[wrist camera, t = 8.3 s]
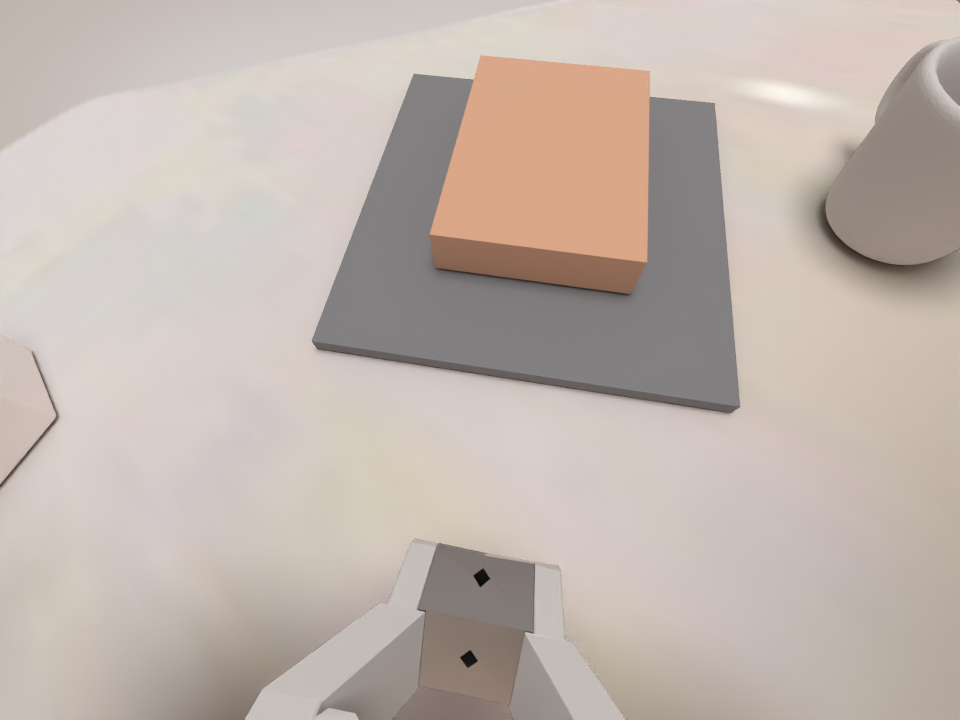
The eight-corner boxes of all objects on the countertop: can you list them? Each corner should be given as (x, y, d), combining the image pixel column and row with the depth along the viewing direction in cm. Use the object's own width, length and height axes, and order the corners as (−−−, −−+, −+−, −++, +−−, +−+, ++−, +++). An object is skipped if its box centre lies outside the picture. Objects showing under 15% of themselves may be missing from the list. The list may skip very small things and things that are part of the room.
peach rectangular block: (629, 296, 22) (635, 114, 28) (647, 262, 20) (649, 71, 26) (435, 270, 23) (481, 98, 29) (429, 234, 21) (480, 55, 26)
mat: (709, 114, 29) (714, 103, 28) (731, 412, 20) (739, 406, 20) (415, 85, 31) (413, 73, 30) (317, 348, 22) (311, 341, 21)
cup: (782, 140, 28) (884, -9, 21) (913, 149, 28) (1065, 0, 20) (817, 278, 23) (965, 149, 16) (976, 292, 23) (1200, 164, 16)
